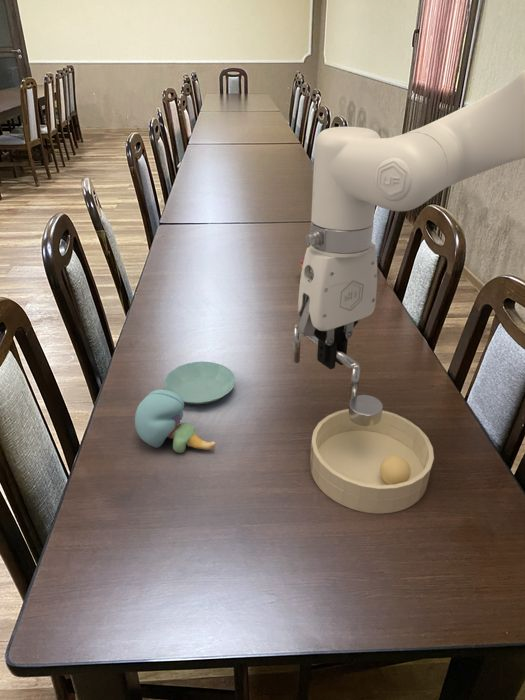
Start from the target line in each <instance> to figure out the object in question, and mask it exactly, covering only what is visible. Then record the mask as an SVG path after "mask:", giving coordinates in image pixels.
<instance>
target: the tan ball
mask: <svg viewBox="0 0 525 700" xmlns="http://www.w3.org/2000/svg"><path fill="white" fill-rule="evenodd" d="M410 474H411V469H410V465H409V463H408V462H407V461H406V460H405V459H404V458H403V457H401V456H398V455H391V456H388V457H386V458H385V459H384V460H383V461H382V463H381V465H380V475H381V477H382V479H383V480H384V481H385V482H386V483H387V484H389V485H395V484H399V483H402V482H406V481H408V479H409V477H410Z"/></svg>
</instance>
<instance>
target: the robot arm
mask: <svg viewBox="0 0 525 700" xmlns="http://www.w3.org/2000/svg"><path fill="white" fill-rule="evenodd" d="M313 152H314V154H313V172H312V173H313V175H312V197H311V217H310V219H311V220H310V232H309V233H307V234H305V236H304V242H305V244H306V245H307V246H308V247H306V250H305V254H304V256H305V257H304V256H303V257H304V262H303V267H302V269H301V273H300V281H299V287H298V299H297V301H298V303H297V306H298V307H297V313H298V318H299V319H300V321H299V323H298V324H299V326H298V332H299V333H301V336H304V337H305V336H315V337H316V338H318V345H317V351H316V352H317V353H316V359H317V361H318V362H319V363H321V365H323V366H324V367H326V368H327V369H329V370H333V369H335V367H336V363H337V364H338V365H341V366H343V365H344V364H343V363H342V362H340V361H339V360H337V359H336V350H337V349H338V350H340V351H341V352H343V353H344V354H346V355H347V353H348V344H349V342H348V341H349V339H350V338H352V337H353V334H354V328H355V327H356V326H357V325H358V323H359V321H361V320H363V319H365V318H367V317H370V316H371V315H372V314H373V313H374V311H375V309H376V303H377V291H378V256H377V249H376V248H377V247H376V245H375V243H373V242H372V240H373V231H374V222H375V221H374V220H375V210H376V207H379V208H382V209H384V210H388V211H393V212H409V211H412V210H414V209H417V208H419V207H420V206H422V205H424V204H426V203H427V202H428V201H429V200H430V199H432V198H433V197H435V196H436V195H438V193H440V192H442V191H444V190H445V189H447V188H449V187H451V186H454V185H455V184H457V183H460V182H462V181H465V180H467V179H469V178H472V177H475V176H477V175H479V174H482V173H485V172H487V171H490V170H493V169H495V168H498V167H500V166H503V165H506V164H510V163H512V162H515V161H519V160H523V159H525V68H524V69H523V70H521V72H519V73H518V74H517V75H516V76H515V77H514V78H512V79H511V80H510V81H508V82H507V83H506V84H504V85H503V86H501V87H499V88H498V89H496V90H494V91H492V92H491V93H488V94H487V95H484V97H481V98H479V99H477V100H475V101H473V102H471V103H469V104H467V105H465V106H463V107H461V108H459V109H457V110H455V111H453V112H451V113H449V114H447V115H445V116H443V117H440V118H438V119H436V120H434V121H432V122H430V123H428V124H425V125H423V126H421V127H418V128H415V129H412V130H410V131H408V132H405V133H402V134H400V135H395V136H391V137H381V136H380V134H379V133H378V132H377V131H375V130H374V129H371V128H368V127H367V128H366V127H359V126H334V127H329V128H325V129H322V131H320V132H319V133H318V135H317V136H316V139H315V141H314V151H313Z"/></svg>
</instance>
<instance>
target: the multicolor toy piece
mask: <svg viewBox="0 0 525 700" xmlns="http://www.w3.org/2000/svg"><path fill="white" fill-rule="evenodd" d="M184 409H185V402H184V401H183V399H182V397H181V396H180V395H178V394H177V393H175V392H172V391H169V390H165V389H163V388H161V389H160V388H159V389H155V390H152V391H151V392H149V393H148V395H146V396H145V397H144V398H143V400H141V402H140V403H139V405H138V406H137V408H136V411H135V414H134V426H135V430H136V433H137V435H138V437H139V438H140V439H141V440H142V441H143V442H144V443H146V444H148V446H152V447H153V448H160V447H161V446H163V444H164V443H165V440H166V439H167V438H169V439H173V440H172V448H173V450H174V452H176V453H178V454H182V453H183V454H184V452H185V451H186V448H187V447H191V448H194V449H198V450H205V451H213V450H214V449H215V448H216V442H215V441H211V442H209V441H205V440H204V439H202V438H200V437H199V436H198V435H197V434H196V428H195V426H194V425H193V424H190V423H186V422H181V420H183V417H184Z"/></svg>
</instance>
